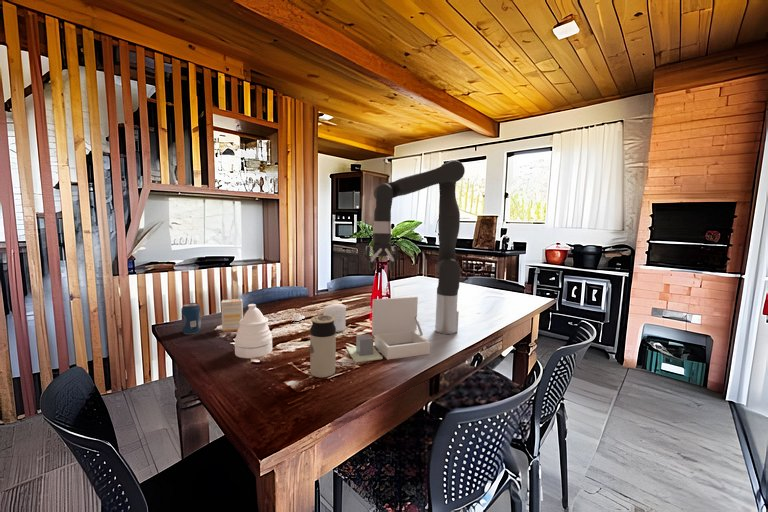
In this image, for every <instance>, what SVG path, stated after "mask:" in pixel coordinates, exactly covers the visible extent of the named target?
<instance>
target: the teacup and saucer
mask: <svg viewBox="0 0 768 512" xmlns="http://www.w3.org/2000/svg"><path fill="white" fill-rule="evenodd" d="M305 318H306V317H305V315H301V313H300V312H294V313H293V315H292V319H293V320H292V321H294V322H295V321H299V322H301V321H303V320H302V319H305Z"/></svg>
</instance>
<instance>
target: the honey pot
mask: <svg viewBox="0 0 768 512" xmlns="http://www.w3.org/2000/svg"><path fill="white" fill-rule="evenodd" d="M247 308H248V309H247V310H246V312H245V313H244V314H243V319H241V320H240V321H239V324H240V327H239V329H238V330H237V332H236V336H235V338H234V354H235V356H236V357H238V358H240V359H241V358H242V359H253V358H254V359H257V358H260V357H264V356H266V355H268V354H270V353H271V352H272V351H273V334H272V333H271V330H270V326H268V322H269V319H268V317H266V316H264V315H263V313H262V312H261V310H260V309H259V308H257V304H255V303H250V304H248V305H247Z"/></svg>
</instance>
